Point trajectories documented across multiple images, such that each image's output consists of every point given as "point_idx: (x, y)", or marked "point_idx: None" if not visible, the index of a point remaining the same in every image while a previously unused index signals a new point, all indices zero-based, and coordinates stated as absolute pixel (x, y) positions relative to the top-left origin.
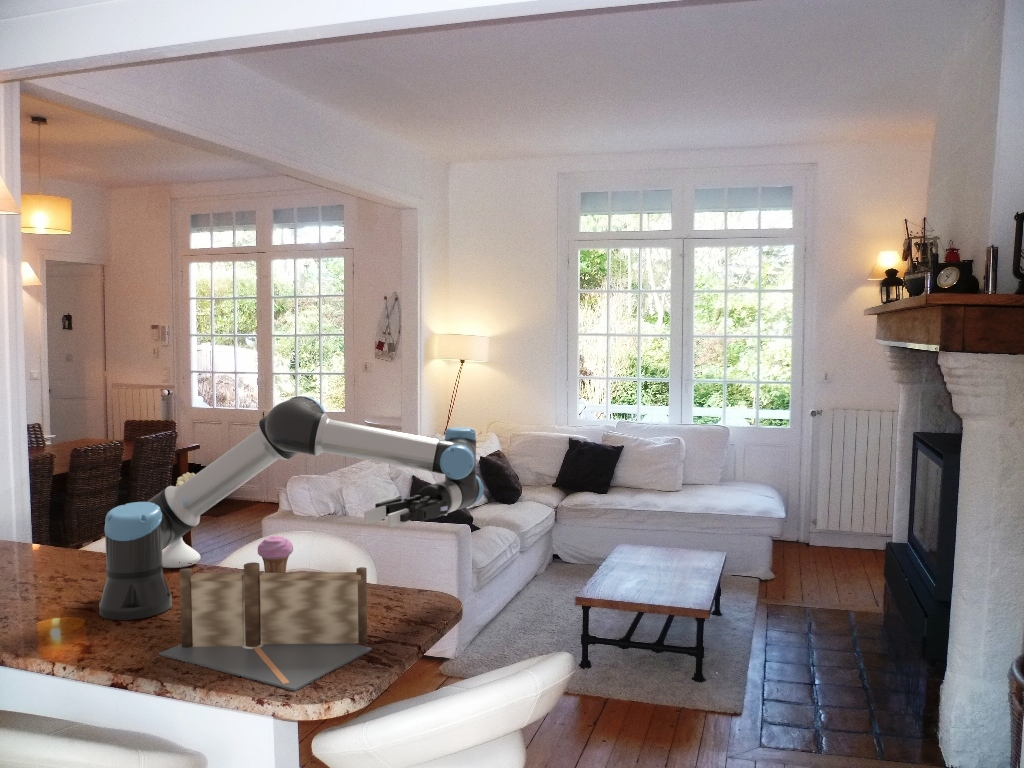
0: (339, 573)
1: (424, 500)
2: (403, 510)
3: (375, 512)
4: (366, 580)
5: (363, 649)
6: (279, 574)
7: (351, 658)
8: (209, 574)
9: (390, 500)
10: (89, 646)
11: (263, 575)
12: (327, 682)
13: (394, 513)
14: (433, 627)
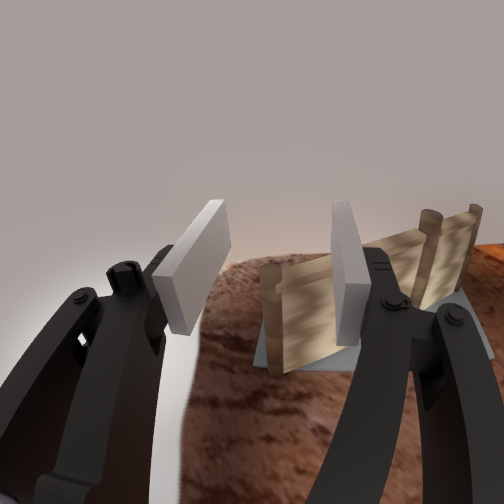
0: (315, 267)
1: (45, 502)
2: (174, 247)
3: (336, 241)
4: (261, 293)
5: (261, 356)
6: (400, 237)
7: (261, 330)
8: (462, 218)
9: (494, 466)
10: (500, 262)
11: (412, 229)
12: (255, 288)
13: (201, 211)
14: (187, 480)
